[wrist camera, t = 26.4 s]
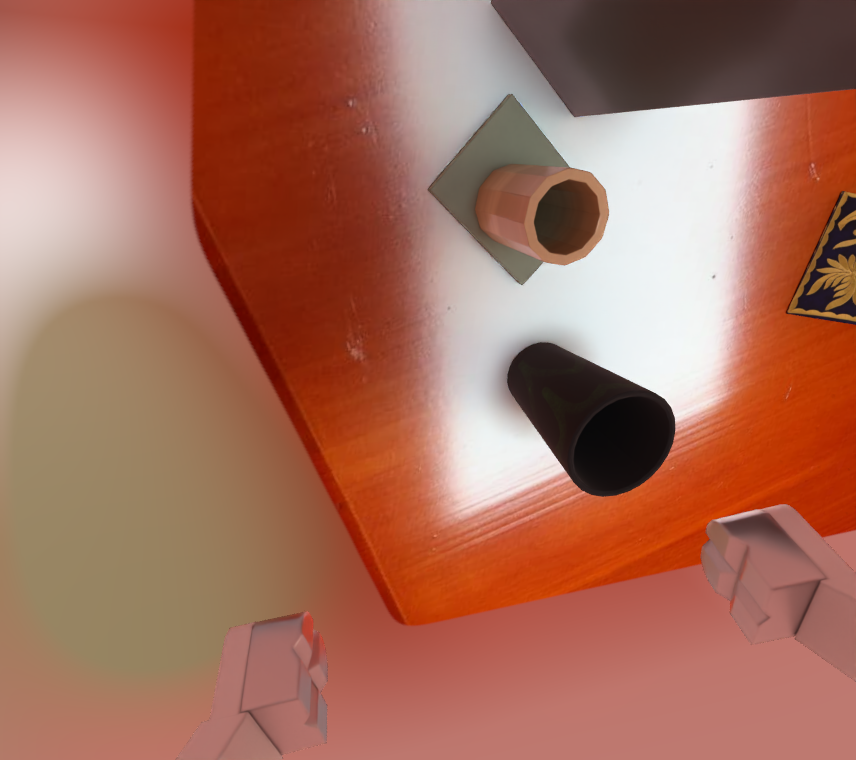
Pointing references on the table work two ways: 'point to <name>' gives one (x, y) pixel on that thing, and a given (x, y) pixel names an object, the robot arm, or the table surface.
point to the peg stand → (684, 49)
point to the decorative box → (831, 269)
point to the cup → (592, 419)
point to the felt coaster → (485, 152)
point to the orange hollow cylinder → (543, 211)
